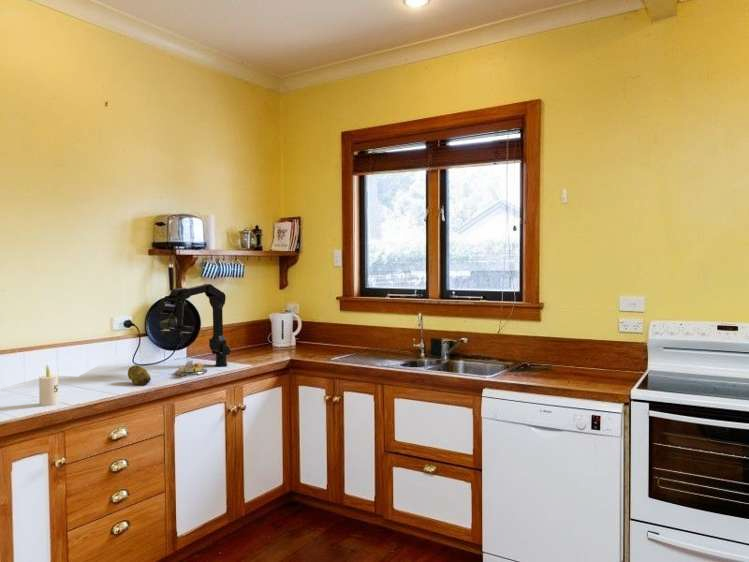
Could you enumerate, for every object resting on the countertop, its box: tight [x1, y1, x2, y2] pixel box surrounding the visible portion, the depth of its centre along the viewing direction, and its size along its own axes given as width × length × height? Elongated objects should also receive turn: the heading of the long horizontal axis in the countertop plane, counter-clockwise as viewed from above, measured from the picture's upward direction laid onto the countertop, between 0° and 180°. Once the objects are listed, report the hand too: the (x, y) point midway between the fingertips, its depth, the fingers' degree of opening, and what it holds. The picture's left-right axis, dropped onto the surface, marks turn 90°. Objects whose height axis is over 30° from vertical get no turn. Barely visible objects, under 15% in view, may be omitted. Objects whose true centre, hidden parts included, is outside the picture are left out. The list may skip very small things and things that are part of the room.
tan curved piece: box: [178, 360, 204, 372], centre depth 279 cm, size 18×11×5 cm, turn 9°
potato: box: [127, 364, 152, 386], centre depth 257 cm, size 8×13×8 cm, turn 34°
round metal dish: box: [174, 367, 208, 377], centre depth 282 cm, size 15×15×3 cm
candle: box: [38, 365, 59, 407], centre depth 219 cm, size 6×6×15 cm
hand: (174, 346), depth 277 cm, fingers open, 9 cm apart
